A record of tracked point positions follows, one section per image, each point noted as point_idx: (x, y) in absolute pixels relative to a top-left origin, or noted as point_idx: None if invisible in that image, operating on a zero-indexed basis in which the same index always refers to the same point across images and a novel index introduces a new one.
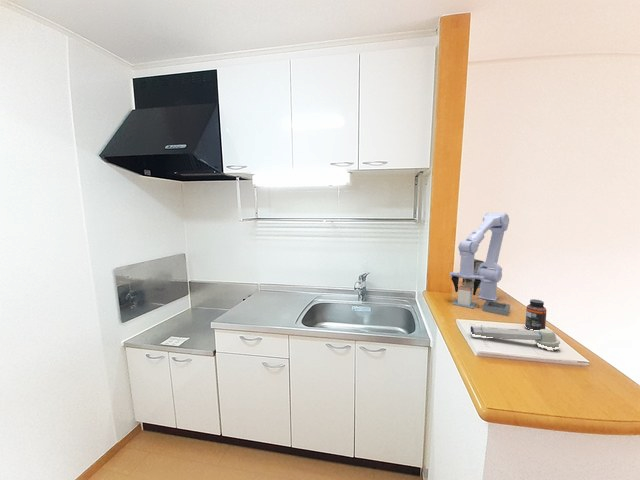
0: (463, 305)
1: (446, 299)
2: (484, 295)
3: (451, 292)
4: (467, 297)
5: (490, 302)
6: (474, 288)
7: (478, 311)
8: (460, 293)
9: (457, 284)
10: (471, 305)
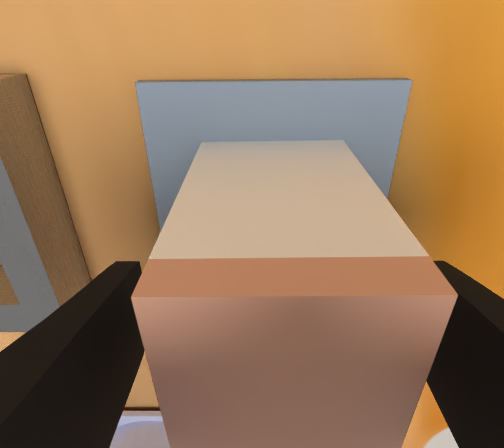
0: (263, 100)
1: (475, 230)
2: (160, 445)
3: (422, 425)
4: (219, 187)
5: (14, 298)
6: (33, 360)
7: (44, 3)
8: (350, 209)
9: (496, 438)
10: (184, 170)
